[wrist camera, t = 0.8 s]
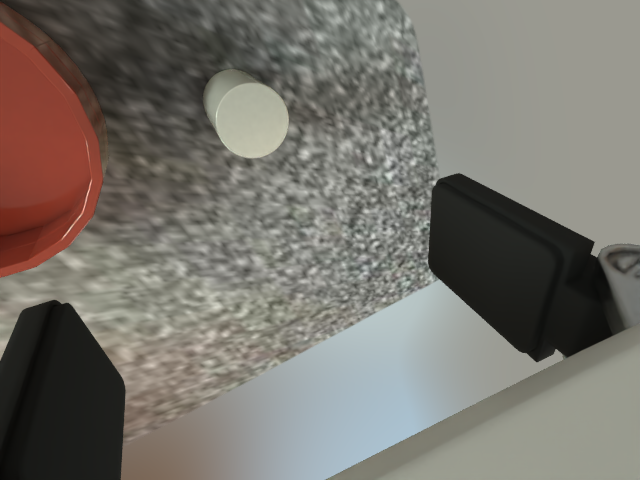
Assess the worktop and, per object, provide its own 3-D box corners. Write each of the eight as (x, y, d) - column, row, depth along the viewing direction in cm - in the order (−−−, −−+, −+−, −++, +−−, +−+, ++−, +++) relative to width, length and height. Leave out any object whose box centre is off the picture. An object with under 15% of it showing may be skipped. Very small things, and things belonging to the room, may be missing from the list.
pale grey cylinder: (194, 75, 25) (205, 91, 20) (256, 63, 26) (282, 75, 21) (213, 139, 27) (227, 166, 23) (269, 125, 28) (294, 148, 24)
